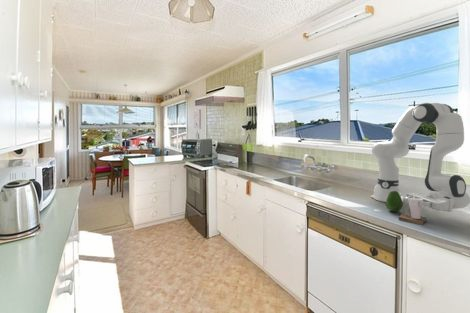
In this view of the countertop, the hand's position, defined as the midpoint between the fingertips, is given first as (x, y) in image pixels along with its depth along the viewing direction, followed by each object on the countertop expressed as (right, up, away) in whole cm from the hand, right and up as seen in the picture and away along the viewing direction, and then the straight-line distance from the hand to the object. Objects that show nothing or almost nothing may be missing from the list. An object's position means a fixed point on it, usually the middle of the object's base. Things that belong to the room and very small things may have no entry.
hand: (412, 201), depth 129 cm
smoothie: (+1, -8, -1) cm, 9 cm away
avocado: (-1, -9, +14) cm, 17 cm away
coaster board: (+1, -10, +1) cm, 10 cm away
